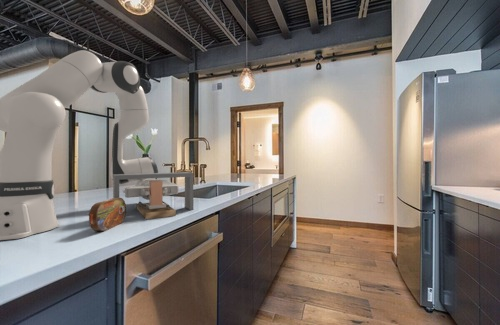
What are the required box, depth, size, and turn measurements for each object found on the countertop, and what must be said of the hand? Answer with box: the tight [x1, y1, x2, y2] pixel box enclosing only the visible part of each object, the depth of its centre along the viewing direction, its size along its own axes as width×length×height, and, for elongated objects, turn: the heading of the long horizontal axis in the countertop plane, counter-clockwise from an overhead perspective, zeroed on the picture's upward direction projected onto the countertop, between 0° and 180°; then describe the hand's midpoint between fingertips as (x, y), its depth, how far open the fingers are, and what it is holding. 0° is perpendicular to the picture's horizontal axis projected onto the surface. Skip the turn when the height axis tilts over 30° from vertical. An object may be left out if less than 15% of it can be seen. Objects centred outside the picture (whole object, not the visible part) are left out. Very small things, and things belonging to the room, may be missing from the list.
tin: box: [88, 197, 127, 232], centre depth 72 cm, size 15×3×8 cm, turn 179°
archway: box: [112, 171, 194, 211], centre depth 92 cm, size 28×6×15 cm, turn 123°
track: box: [136, 201, 177, 220], centre depth 93 cm, size 10×22×3 cm, turn 33°
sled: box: [145, 179, 167, 209], centre depth 91 cm, size 6×7×10 cm
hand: (156, 192), depth 90 cm, fingers open, 5 cm apart
